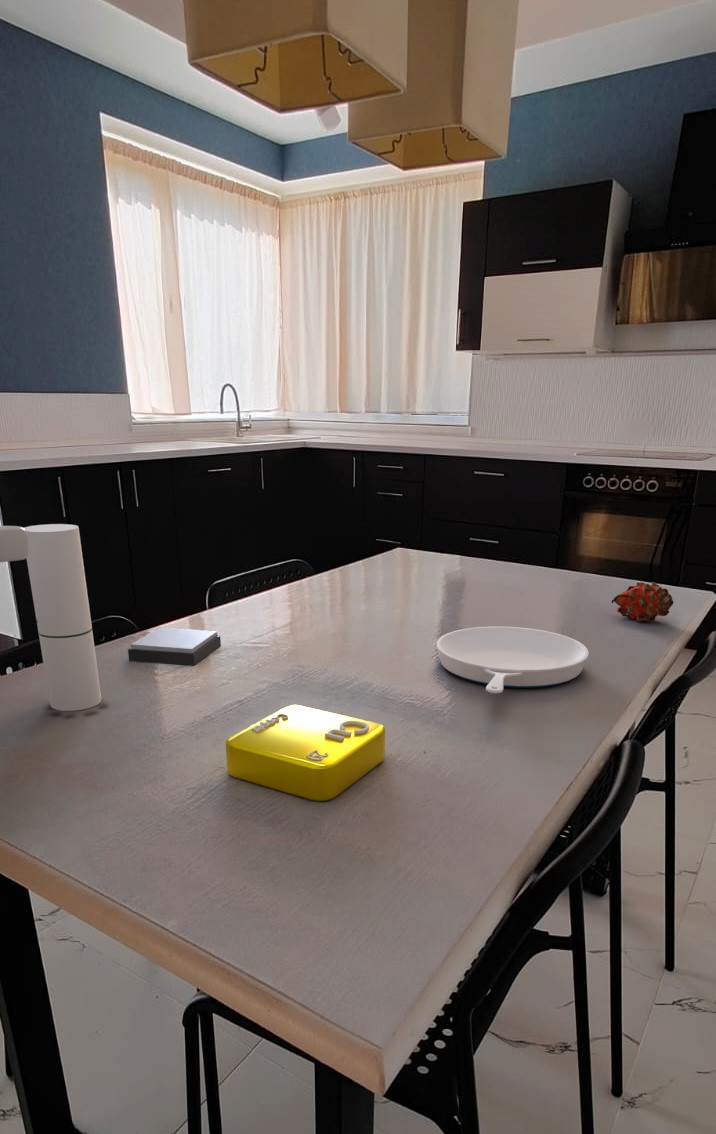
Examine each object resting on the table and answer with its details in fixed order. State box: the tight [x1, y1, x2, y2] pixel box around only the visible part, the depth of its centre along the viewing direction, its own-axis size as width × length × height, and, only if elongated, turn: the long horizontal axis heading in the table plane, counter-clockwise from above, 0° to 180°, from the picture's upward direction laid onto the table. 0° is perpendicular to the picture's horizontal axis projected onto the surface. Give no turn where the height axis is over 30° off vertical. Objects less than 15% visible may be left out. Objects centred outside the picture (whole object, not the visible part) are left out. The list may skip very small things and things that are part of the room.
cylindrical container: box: [23, 523, 102, 712], centre depth 108 cm, size 7×7×25 cm
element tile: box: [224, 704, 386, 802], centre depth 93 cm, size 15×15×5 cm
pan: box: [435, 625, 590, 694], centre depth 123 cm, size 25×38×5 cm, turn 164°
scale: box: [127, 627, 222, 666], centre depth 135 cm, size 12×12×3 cm
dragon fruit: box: [611, 581, 675, 623], centre depth 158 cm, size 8×8×12 cm
